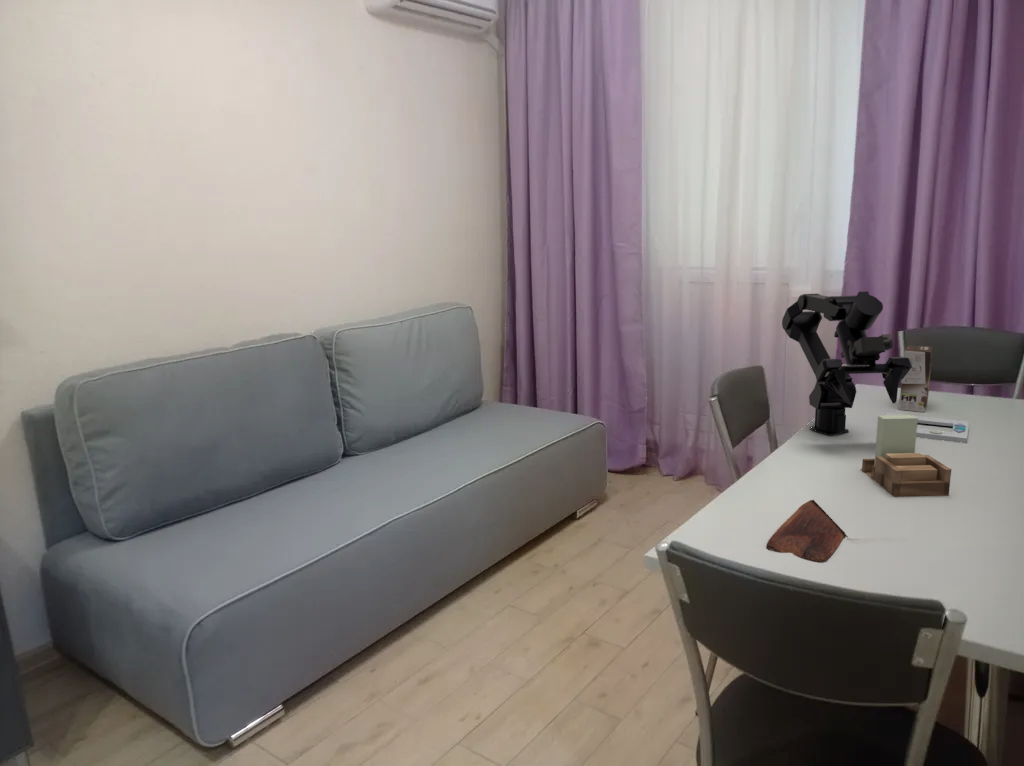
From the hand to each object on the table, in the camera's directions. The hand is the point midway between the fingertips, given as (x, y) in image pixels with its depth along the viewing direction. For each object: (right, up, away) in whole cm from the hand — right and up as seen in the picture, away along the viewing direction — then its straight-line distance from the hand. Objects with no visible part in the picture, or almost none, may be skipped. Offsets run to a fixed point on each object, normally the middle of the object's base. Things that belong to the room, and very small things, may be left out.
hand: (872, 403), depth 158 cm
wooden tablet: (-24, -22, -29) cm, 43 cm away
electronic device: (+23, -8, +22) cm, 33 cm away
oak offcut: (0, -15, -13) cm, 20 cm away
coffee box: (+31, -2, +41) cm, 52 cm away
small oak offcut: (-1, -16, -17) cm, 24 cm away
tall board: (0, -14, -9) cm, 17 cm away
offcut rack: (0, -16, -13) cm, 20 cm away
